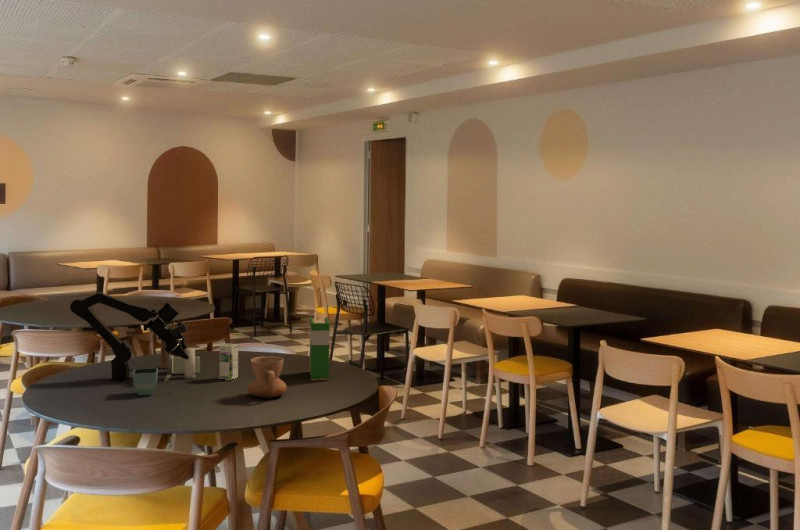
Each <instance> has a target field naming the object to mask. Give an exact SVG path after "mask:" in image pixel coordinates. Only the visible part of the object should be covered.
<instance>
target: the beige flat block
mask: <svg viewBox="0 0 800 530" xmlns="http://www.w3.org/2000/svg"><path fill="white" fill-rule="evenodd" d="M200 373H201V357H200V356H195V374H200ZM172 374H173V375H174V374H185V365H184V358H181V357H177V356H173V373H172Z"/></svg>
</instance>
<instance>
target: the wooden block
mask: <svg viewBox="0 0 800 530" xmlns="http://www.w3.org/2000/svg"><path fill="white" fill-rule="evenodd" d="M183 335H184V336H183V337H184V343H185V345H186V346H187V337H186V336H187V335H186V334H183ZM183 337H182V338H183ZM182 338H181V339H182ZM165 347H166V345H165V343H164V342H163V341H162V340H161V339H160V360H159V363H160V364H159V365H160V366H159V367H160V369H161V370H163V369H162V368H166V369H167V355H170V353H167V352H166V351H165ZM176 357H179V356H176Z"/></svg>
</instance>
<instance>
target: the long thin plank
mask: <svg viewBox="0 0 800 530" xmlns="http://www.w3.org/2000/svg"><path fill="white" fill-rule="evenodd" d="M173 357H174V355H173V354H169V355H167V368H166V371H167V372H166V376H165V378H164V380H163V382H169V380H170V379H171V376H172V374H173Z"/></svg>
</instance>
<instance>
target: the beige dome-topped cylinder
mask: <svg viewBox="0 0 800 530" xmlns="http://www.w3.org/2000/svg"><path fill="white" fill-rule="evenodd" d="M184 351H185V353H186V354H187V355H188V357H189V359H184V365H185V373H184V375H183V379H185V378H186V380H191V379H190V378H193V379H196V378H197V375H196V373H195V357H196V348H193V347H187V348H186V349H184Z"/></svg>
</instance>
